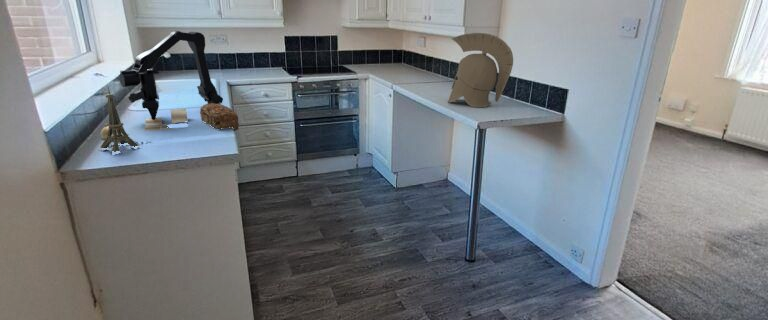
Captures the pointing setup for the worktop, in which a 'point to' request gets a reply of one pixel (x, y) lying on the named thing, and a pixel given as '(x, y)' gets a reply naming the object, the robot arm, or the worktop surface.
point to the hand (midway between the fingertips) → (153, 119)
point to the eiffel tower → (113, 125)
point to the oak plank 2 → (179, 115)
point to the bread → (219, 116)
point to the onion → (105, 131)
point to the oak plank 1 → (153, 121)
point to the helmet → (481, 69)
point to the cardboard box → (157, 127)
